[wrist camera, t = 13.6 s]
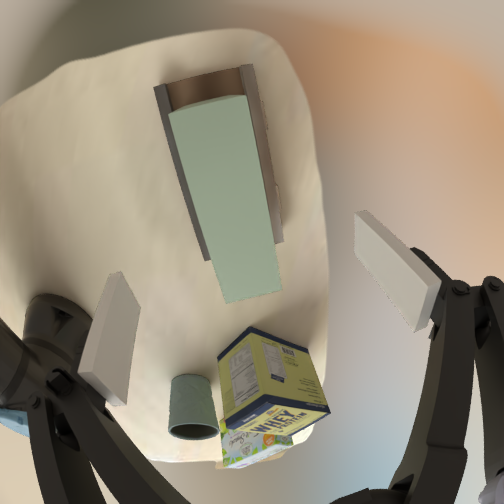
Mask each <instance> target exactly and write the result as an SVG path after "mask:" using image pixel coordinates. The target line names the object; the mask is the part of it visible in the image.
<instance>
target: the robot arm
mask: <svg viewBox="0 0 504 504" xmlns="http://www.w3.org/2000/svg"><path fill="white" fill-rule="evenodd" d="M354 242H355V243H354V254H355V255H356V257H357V258H358V259H359V260H360V261H361V263H362V264H363V265H364V267H365V268H366V269H367V270H368V272H369V273H370V274H371V275H372V277H373V278H374V279H375V280H376V282H377V283H378V284H379V286H380V287H381V288H382V289H383V291H384V292H385V293H386V295H387V296H388V297H389V299H390V300H391V301H392V303H393V304H394V305H395V307H396V308H397V309H398V311H399V312H400V313H401V315H402V316H403V318H404V319H405V320H406V322H407V323H408V325H409V326H410V327H411V329H412V330H413V332H416V331H418V330H421V329H423V328H425V327H426V326H427V325H428V322H429V319H430V318H431V319H432V321H433V322H434V325H433V327H432V330H431V333H430V335H429V339H430V338H431V344H430V351H429V357H428V364H427V369H426V375H425V380H424V385H423V390H422V394H421V398H420V403H419V407H418V411H417V414H416V418H415V422H414V425H413V429H412V432H411V435H410V439H409V442H408V445H407V448H406V451H405V454H404V457H403V459H402V462H401V464H400V465H399V467H398V468H397V470H396V472H395V474H394V476H393V478H392V481H391V483H390V485H389V488H388V489H372V490H369V489H368V488H366V489H363V490H361V491H358V492H355V493H353V494H350V495H347V496H345V497H341V498H339V499H337V500H335V501H333V502H332V503H330V504H454V502H455V499H456V496H457V493H458V490H459V487H460V484H461V481H462V477H463V474H464V470H465V466H466V462H467V456H468V455H467V450H466V449H465V448H464V440H465V436H466V430H467V424H468V418H469V412H470V404H471V396H472V387H473V375H474V358H475V363H476V369H477V375H478V381H479V388H480V396H481V404H482V415H483V429H484V469H485V477H486V484H487V485H486V486H485V488H484V490H483V491H482V492H481V493H480V495H479V498H478V500H479V502H480V503H481V504H504V283H503V282H502V281H501V280H500V279H499V278H497V277H495V276H487V277H486V278H484V281H483V283H482V285H481V286H473V287H470V286H469V285H468V284H467V283H465V282H463V281H461V280H452V279H451V278H450V277H449V276H448V275H447V274H446V273H445V272H444V271H443V270H442V269H441V268H440V267H439V266H438V265H437V264H435V263H434V261H433V260H431V259H430V258H429V257H428V256H427V255H426V254H425V253H424V252H423V251H421V250H419V249H417V248H415V247H413V248H410V249H409V248H408V247H407V246H406V245H405V244H404V243H403V242H401V240H400V239H398V238H397V237H396V236H395V235H394V234H393V233H392V232H391V231H390V230H388V229H387V228H386V227H385V226H384V225H383V224H382V223H380V222H379V221H378V220H377V219H376V218H375V217H374V216H373V215H371V214H370V213H369V212H368V211H367V210H364V211H360V212H356V213H355V241H354ZM140 309H141V307H140V305H139V303H138V302H137V300H136V298H135V296H134V294H133V293H132V291H131V289H130V287H129V285H128V283H127V282H126V280H125V278H124V276H123V274H122V272H121V271H120V272H116V273H112V274H109V277H108V280H107V282H106V285H105V287H104V290H103V293H102V296H101V298H100V301H99V304H98V307H97V310H96V312H95V315H94V318H93V321H92V319H91V318H90V317H89V316H88V314H87V313H86V312H85V311H84V310H82V309H81V308H80V307H79V306H77V305H76V304H74V303H73V302H71V301H69V300H67V299H65V298H63V297H60V296H57V295H52V294H42V295H38V296H36V297H35V298H34V299H33V300H32V301H31V303H30V305H29V306H28V308H27V310H26V314H25V323H24V330H23V339H22V340H21V339H20V338H19V337H18V336H17V335H16V334H15V333H14V332H13V331H12V330H11V329H10V328H9V327H8V326H7V324H6V323H5V322H4V321H3V320H2V319H1V318H0V423H2V424H3V425H4V426H6V427H8V428H10V429H12V430H13V431H16V432H18V433H20V434H22V435H25V436H27V437H30V443H31V449H32V455H33V460H34V465H35V469H36V474H37V478H38V482H39V486H40V490H41V494H42V497H43V500H44V504H106V501H105V499H104V497H103V495H102V492H101V490H100V488H99V485H98V482H97V480H96V478H95V475H94V472H93V469H92V467H91V464H92V465H93V467H94V468H95V470H96V471H97V473H98V474H99V476H100V478H101V479H102V480H103V482H104V483H105V485H106V486H107V488H108V489H109V490H110V492H111V493H112V494H113V496H114V497H115V498H116V500H117V501H118V502H119V504H191V503H190V502H188V501H187V500H186V499H185V498H184V497H183V496H182V495H181V494H180V493H179V492H178V491H177V490H176V489H175V488H174V487H172V485H171V484H170V483H169V482H168V481H167V480H166V479H165V478H164V477H163V476H162V475H161V474H160V473H159V472H158V471H157V470H156V469H155V468H154V466H153V465H152V464H151V463H150V462H149V461H148V460H147V459H146V457H145V456H144V455H143V454H142V453H141V452H140V450H139V449H138V448H137V447H136V446H135V444H134V443H133V442H132V441H131V439H130V438H129V437H128V436H127V434H126V433H125V432H124V430H123V429H122V428H121V427H120V425H119V424H118V422H117V421H116V420H115V418H114V417H113V416H112V414H111V413H110V411H109V410H108V409H107V408H106V407H105V403H106V401H107V402H109V403H110V404H111V405H112V406H125V405H127V395H128V386H129V378H130V370H131V363H132V356H133V349H134V343H135V337H136V331H137V325H138V320H139V314H140ZM89 460H90V461H89ZM90 462H91V464H90Z"/></svg>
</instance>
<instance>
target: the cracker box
mask: <svg viewBox="0 0 504 504" xmlns="http://www.w3.org/2000/svg"><path fill="white" fill-rule="evenodd" d="M168 115H169V119H170V123H171V127H172V130H173V134H174V138H175V141H176V145H177V149H178V152H179V156H180V159H181V163H182V166H183V170H184V173H185V177H186V180H187V183H188V187H189V190H190V194H191V197H192V200H193V204H194V207H195V210H196V213H197V217H198V220H199V223H200V226H201V229H202V233H203V236H204V239H205V242H206V245H207V248H208V251H209V254H210V257H211V260H212V264H213V267H214V270H215V273H216V276H217V279H218V281H219V284H220V287H221V290H222V293H223V296H224V299H225V302H226V304H227V303H231V302H236V301H240V300H244V299H248V298H252V297H256V296H260V295H264V294H268V293H272V292H276V291H280V290H282V286H281V280H280V274H279V268H278V262H277V256H276V250H275V244H274V238H273V232H272V227H271V221H270V216H269V210H268V204H267V199H266V193H265V188H264V183H263V177H262V172H261V167H260V162H259V156H258V151H257V146H256V141H255V136H254V131H253V126H252V121H251V116H250V111H249V106H248V101H247V97H246V95H227V96H222V97H218V98H214V99H209V100H205V101H201V102H197V103H193V104H190V105H186V106H183V107H181V108H179V109H177V110H175V111H173V112H171V113H170V114H168Z"/></svg>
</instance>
